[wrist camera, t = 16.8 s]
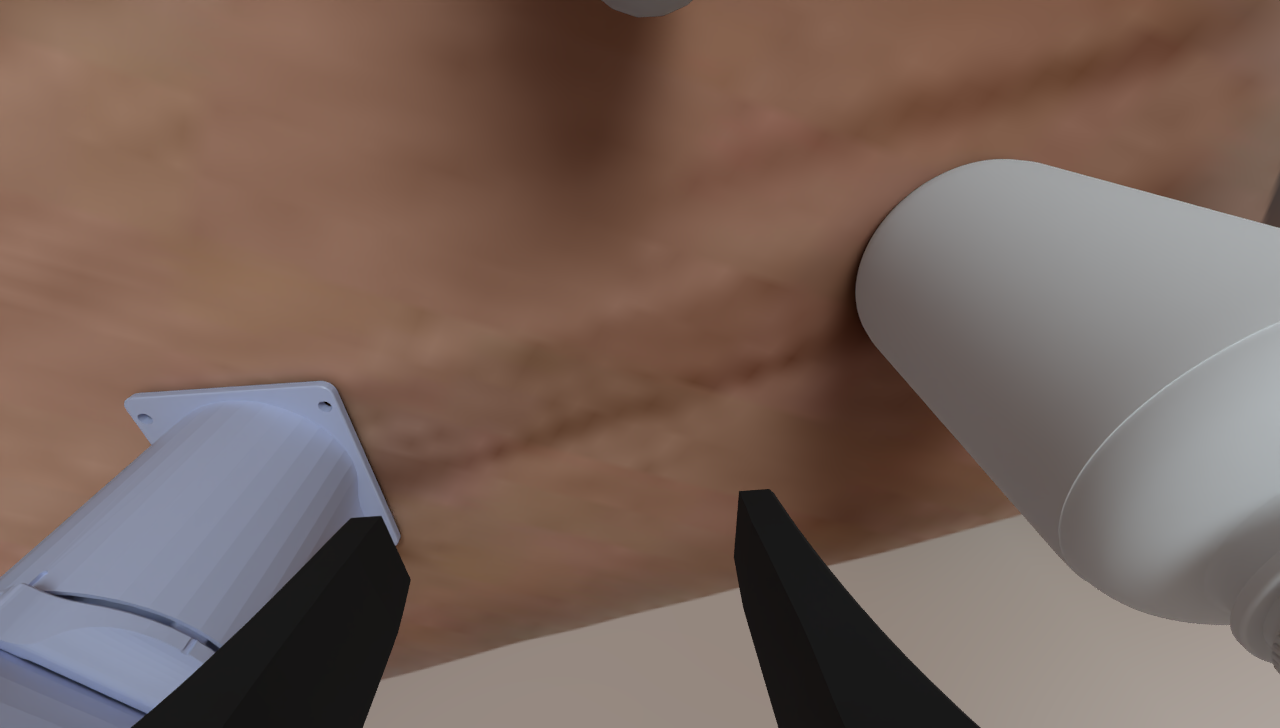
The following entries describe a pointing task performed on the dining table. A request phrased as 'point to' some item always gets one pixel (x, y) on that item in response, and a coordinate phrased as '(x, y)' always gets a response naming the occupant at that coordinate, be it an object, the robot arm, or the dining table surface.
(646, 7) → the donut
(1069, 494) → the pill bottle
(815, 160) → the dining table surface
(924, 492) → the dining table surface
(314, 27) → the dining table surface
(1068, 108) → the dining table surface
